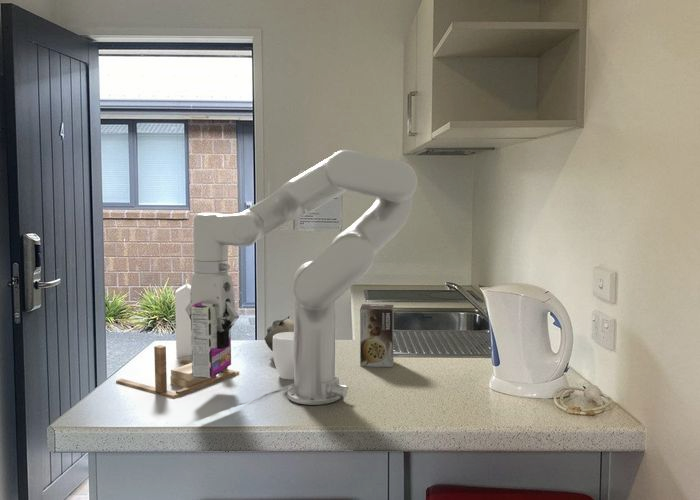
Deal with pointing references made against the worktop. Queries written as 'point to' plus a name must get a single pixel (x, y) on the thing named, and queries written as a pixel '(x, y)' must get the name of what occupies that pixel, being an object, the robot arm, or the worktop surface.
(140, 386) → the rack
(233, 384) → the worktop surface
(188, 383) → the offcut middle
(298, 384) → the robot arm
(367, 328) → the cookie box
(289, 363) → the mug
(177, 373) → the offcut top
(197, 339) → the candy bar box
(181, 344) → the milk
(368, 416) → the worktop surface
